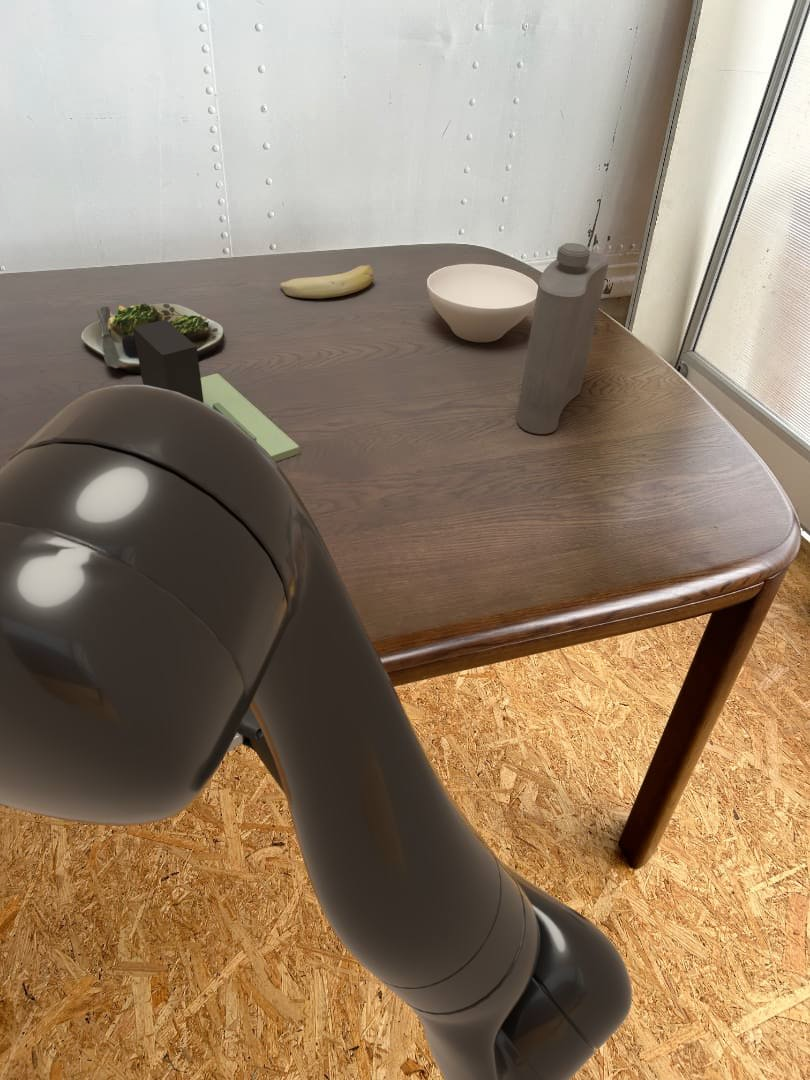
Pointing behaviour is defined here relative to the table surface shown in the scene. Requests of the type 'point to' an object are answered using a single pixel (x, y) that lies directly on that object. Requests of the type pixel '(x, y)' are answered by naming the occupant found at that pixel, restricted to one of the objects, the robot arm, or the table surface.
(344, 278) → the fruit
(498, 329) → the bowl
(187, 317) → the salad plate
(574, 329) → the flask
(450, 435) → the table surface
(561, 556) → the table surface
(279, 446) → the dock mat
